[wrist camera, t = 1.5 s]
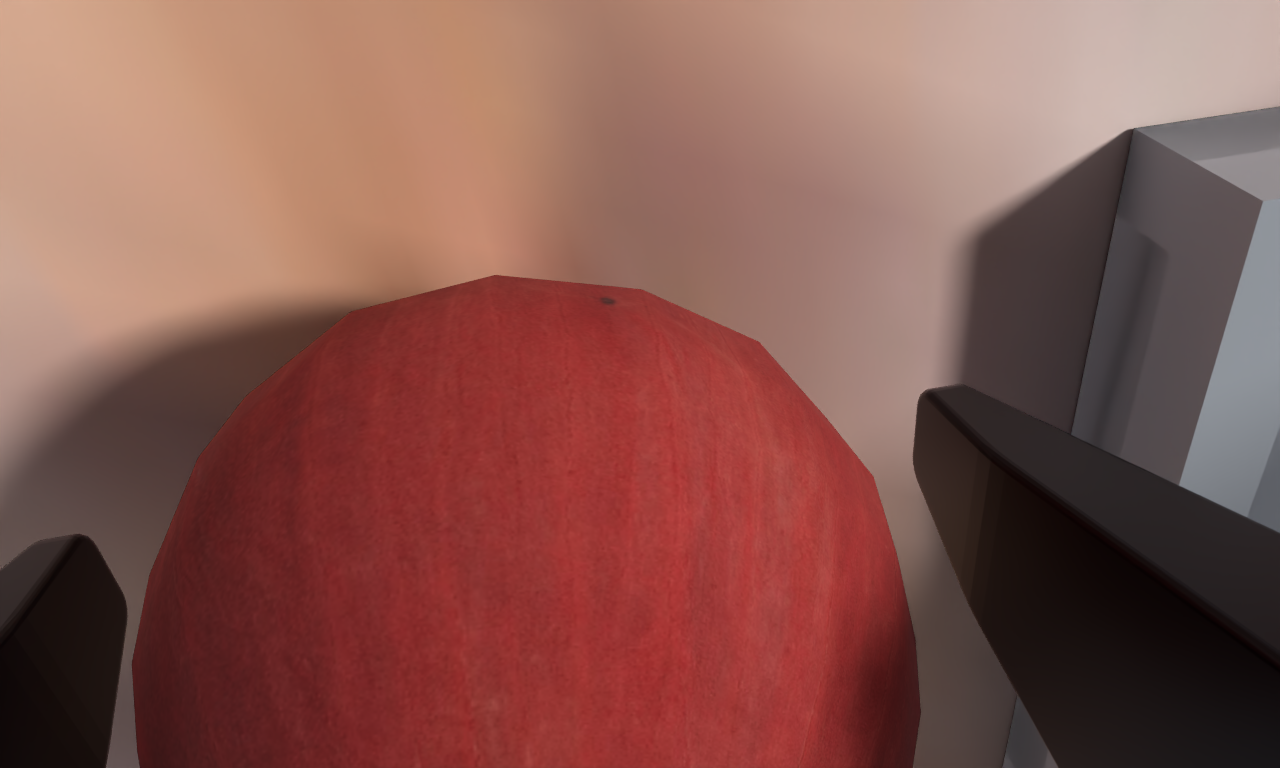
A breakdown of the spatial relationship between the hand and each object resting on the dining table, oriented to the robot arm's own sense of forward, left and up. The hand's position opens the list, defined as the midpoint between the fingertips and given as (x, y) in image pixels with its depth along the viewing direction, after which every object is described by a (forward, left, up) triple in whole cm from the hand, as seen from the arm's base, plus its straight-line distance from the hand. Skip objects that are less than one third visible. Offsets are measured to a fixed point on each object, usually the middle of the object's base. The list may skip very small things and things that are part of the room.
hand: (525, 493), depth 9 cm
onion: (0, 0, -2) cm, 2 cm away
